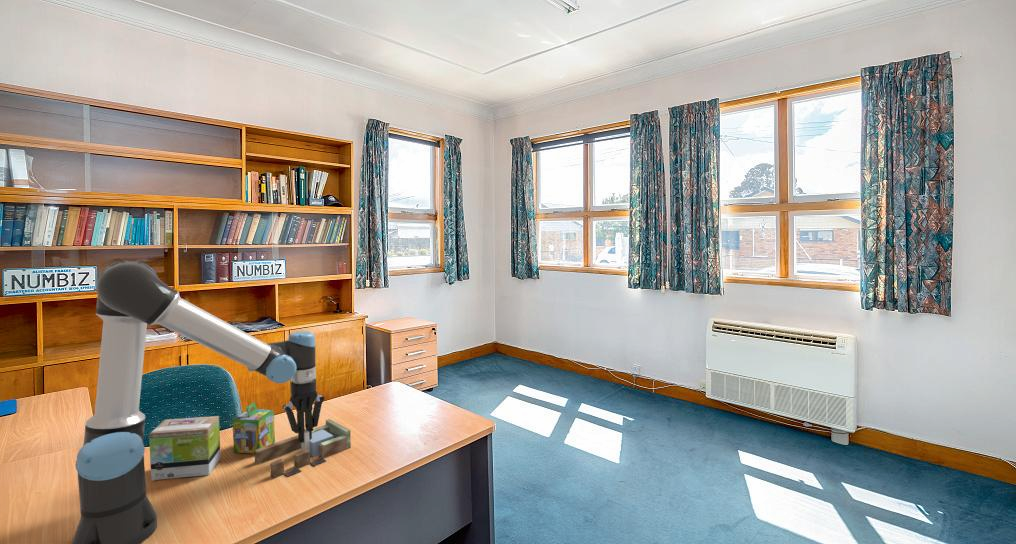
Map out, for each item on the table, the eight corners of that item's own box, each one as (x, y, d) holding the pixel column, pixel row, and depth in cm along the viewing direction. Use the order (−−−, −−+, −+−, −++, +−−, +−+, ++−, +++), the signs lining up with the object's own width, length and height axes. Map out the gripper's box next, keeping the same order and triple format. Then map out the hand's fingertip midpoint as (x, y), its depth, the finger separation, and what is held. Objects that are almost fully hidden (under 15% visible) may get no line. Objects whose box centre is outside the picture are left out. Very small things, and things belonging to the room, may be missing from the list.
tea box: (150, 482, 129) (147, 433, 127) (166, 464, 138) (163, 418, 137) (209, 475, 133) (207, 427, 131) (221, 458, 142) (219, 414, 141)
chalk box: (259, 455, 145) (257, 410, 144) (232, 453, 146) (230, 409, 144) (276, 441, 154) (274, 400, 153) (250, 440, 155) (249, 398, 154)
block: (313, 457, 144) (312, 443, 144) (302, 450, 149) (302, 436, 148) (333, 449, 150) (333, 435, 149) (323, 443, 154) (322, 429, 154)
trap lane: (277, 481, 130) (276, 461, 130) (254, 462, 141) (254, 444, 140) (354, 449, 150) (354, 432, 149) (329, 435, 160) (329, 418, 159)
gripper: (288, 388, 136) (290, 462, 139) (328, 377, 146) (330, 446, 149) (277, 382, 141) (279, 453, 143) (317, 372, 151) (319, 439, 153)
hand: (305, 450), depth 146 cm, fingers closed
